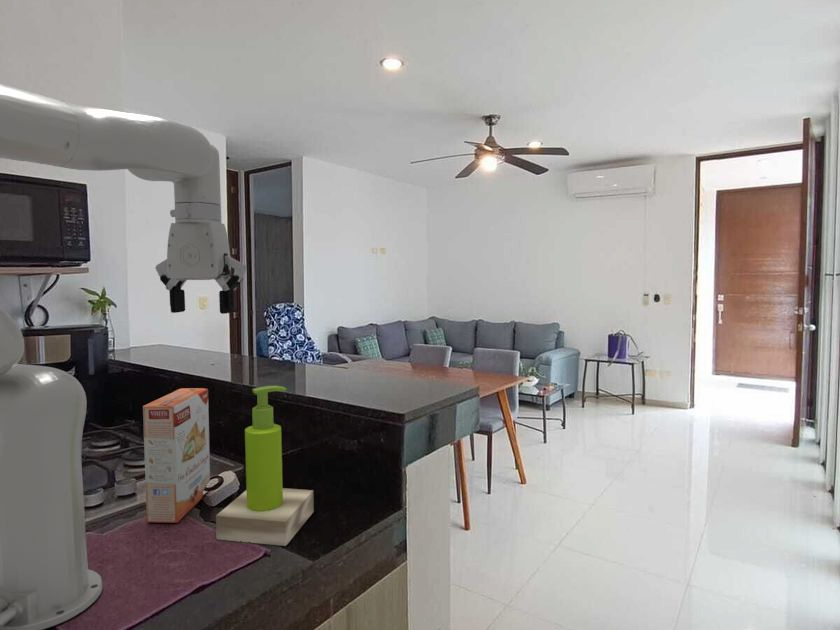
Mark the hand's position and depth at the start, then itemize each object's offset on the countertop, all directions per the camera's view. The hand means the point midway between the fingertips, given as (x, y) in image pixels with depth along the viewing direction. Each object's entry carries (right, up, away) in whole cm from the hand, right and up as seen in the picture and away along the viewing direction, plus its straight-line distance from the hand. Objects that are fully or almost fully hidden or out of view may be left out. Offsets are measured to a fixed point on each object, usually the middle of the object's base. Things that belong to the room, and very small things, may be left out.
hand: (202, 312), depth 95 cm
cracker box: (-5, -36, +4) cm, 37 cm away
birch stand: (+13, -37, -4) cm, 39 cm away
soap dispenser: (+13, -33, -4) cm, 36 cm away
